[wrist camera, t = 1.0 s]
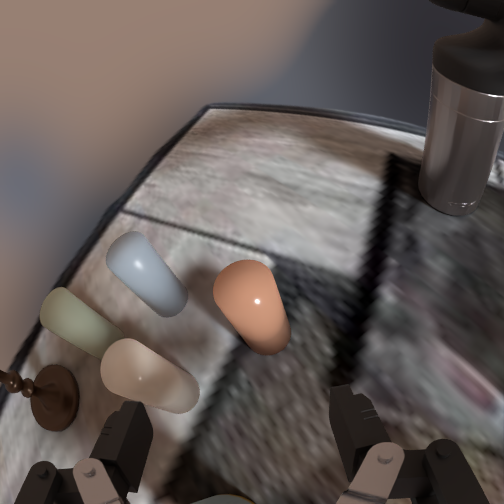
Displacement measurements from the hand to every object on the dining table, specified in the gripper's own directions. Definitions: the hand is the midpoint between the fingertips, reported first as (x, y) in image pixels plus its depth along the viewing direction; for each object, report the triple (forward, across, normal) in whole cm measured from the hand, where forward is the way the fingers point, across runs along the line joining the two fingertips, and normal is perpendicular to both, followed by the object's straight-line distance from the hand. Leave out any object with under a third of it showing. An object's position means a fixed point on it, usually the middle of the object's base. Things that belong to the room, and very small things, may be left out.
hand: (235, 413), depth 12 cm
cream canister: (+15, +8, +11) cm, 20 cm away
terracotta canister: (+18, -2, +6) cm, 19 cm away
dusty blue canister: (+24, +9, +4) cm, 26 cm away
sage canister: (+21, +17, +8) cm, 28 cm away
